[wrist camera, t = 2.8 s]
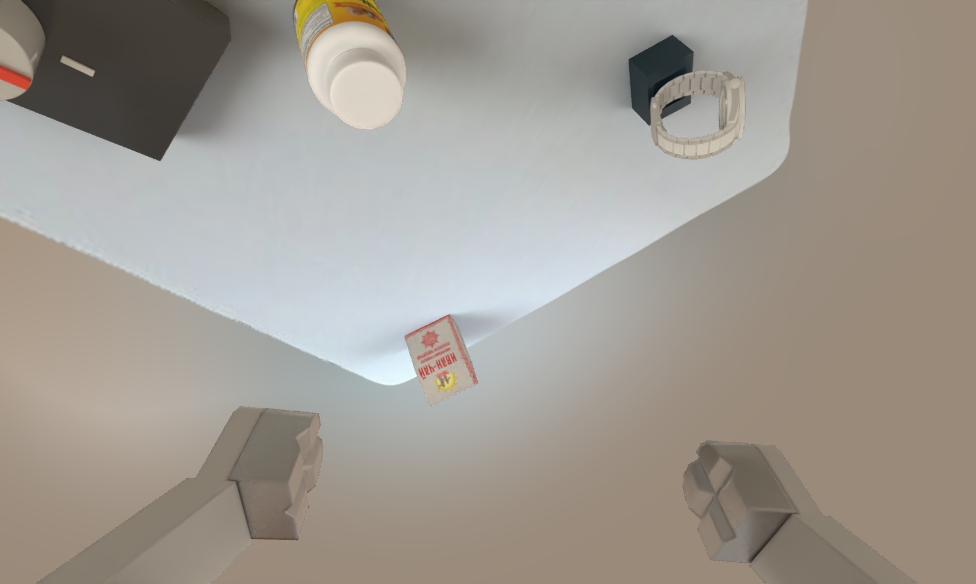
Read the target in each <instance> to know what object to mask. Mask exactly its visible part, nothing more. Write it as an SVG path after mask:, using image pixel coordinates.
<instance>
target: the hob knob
mask: <svg viewBox="0 0 976 584" xmlns="http://www.w3.org/2000/svg"><path fill="white" fill-rule="evenodd" d="M44 49H45V35H44V31H43V28H42V26H41V24H40V22H39V21H38V19H37V17H36V16H35V15H34V13H33V12H32V11H31V10H30V9H29V8H28V7H27V5H26V4H24V3H23V2H22V1H21V0H0V101H2V100H8V99H12V98H15V97H18V96H20V95H22V94H23V93H24V92H26V91H27V90H28V88H29V87H30V85H31V84H32V81H33V78H34V76H35V73H36V70H37V68H38V65H39V62H40V60H41V57H42V55H43V52H44Z"/></svg>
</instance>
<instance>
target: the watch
mask: <svg viewBox="0 0 976 584" xmlns="http://www.w3.org/2000/svg"><path fill="white" fill-rule="evenodd" d="M692 69H693V51H692V50H691V49H689V48H688V47H687V46H686V45H684V44H683V43H682V42H681V41H679V40H678V39H677V38H676V37H674V36H673V35H672V36H670V37H668V38H667V39H665V40H663V41H661V42H659V43H658V44H656V45H654V46H652V47H650V48H649V49H647V50H645V51H643V52H641V53H640V54H638V55H636V56H634V57H632V58H630V59H629V72H630V85H631V98H632V108H633V109H634V111H635V112H636V113H637V114H638V115H639V116H640V117H641V118H642V119H643V120H644V121H645V122H646V123H647V124H648V125H649V126H650V125H651V133H652V137H653V141H654V143H655V146H657V145H658V147H659V148H660V149H661V150H662V151H663V152H665V153H667V154H668V155H670V156H673V157H677V158H681V159H690V160H694V159H699V156H700V159H703V158H708V157H711V156H714V155H717V154H719V153H721V152H722V151H725V150H726V149H728V148H731V147H732V145H733V143H734V140H735V139H740V138H741V136H742V133H743V129H744V122H745V110H746V96H745V85H744V80H743V78H742V77H737V78H736V77H735V76H734V75H733V74H731V73H729V72H723V73H722V72H717V71H707V72H706V71H696V72H695V76H694V72H692ZM701 79H702V85H701ZM712 85H713V86H712ZM693 90H694V94H704V92H705V94H706V95H712V96H713V95H715V96H716V97H719V128H720V131H718V132H716V133H714V134H713V135H707V136H703V137H702V138H700V137H697V138H690V139H688V138H677V137H675V136H672V135H668V133H667V131H666V129H665V128H664V126H663V123H662V119H663V118H664V117H666V116H668V115H670V114H672V113H674V112H676V111H677V110H679V109H681V108H683V107H685V106H687V105H688V104H690V103H691V95H693ZM684 145H685V150H684ZM696 146H697V151H696Z"/></svg>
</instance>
